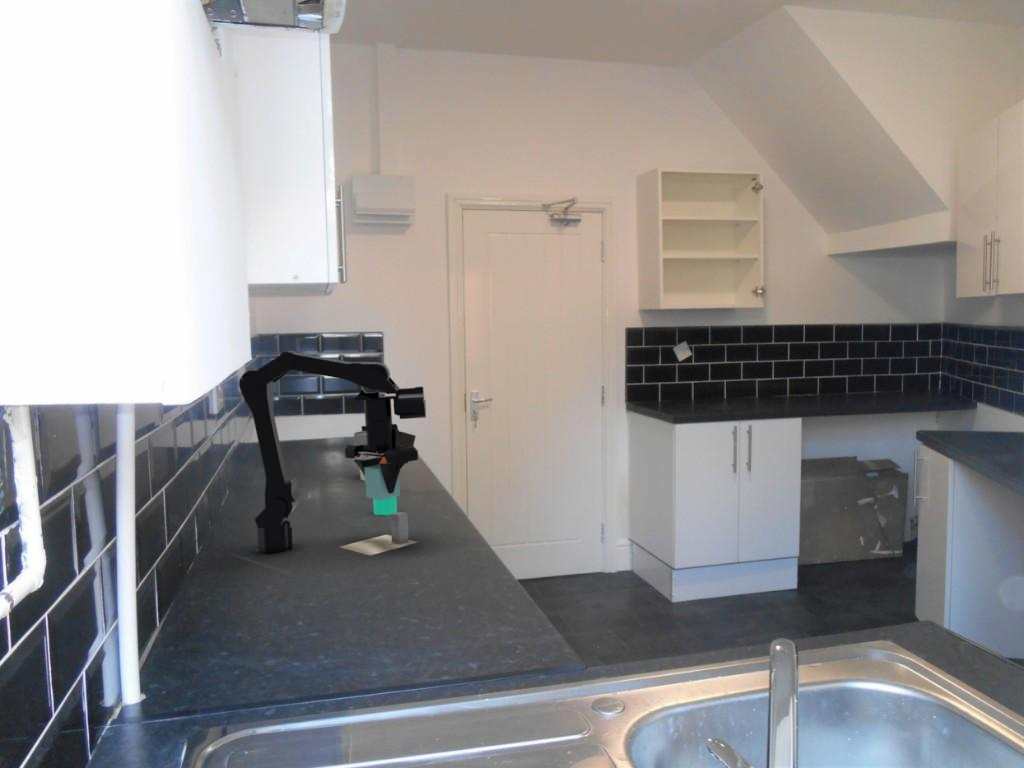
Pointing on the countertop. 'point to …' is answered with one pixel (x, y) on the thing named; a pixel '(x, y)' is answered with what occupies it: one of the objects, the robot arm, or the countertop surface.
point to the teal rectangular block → (378, 484)
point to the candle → (385, 506)
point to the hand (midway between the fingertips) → (383, 491)
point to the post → (399, 527)
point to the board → (375, 545)
